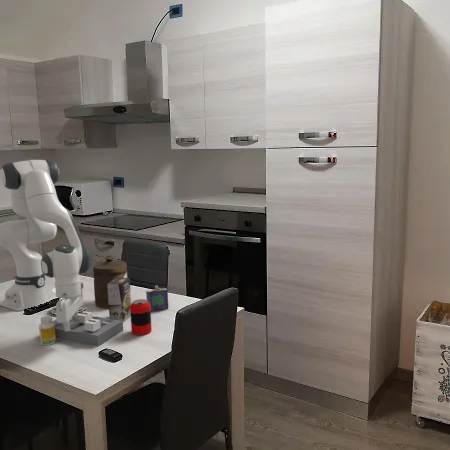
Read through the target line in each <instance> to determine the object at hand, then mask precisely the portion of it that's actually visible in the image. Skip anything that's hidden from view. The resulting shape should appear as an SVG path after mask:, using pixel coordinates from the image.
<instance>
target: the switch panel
mask: <svg viewBox="0 0 450 450" xmlns="http://www.w3.org/2000/svg"><path fill="white" fill-rule="evenodd" d="M92 319H97V320H100V326H101V328H99V329H98V330H96V331H94V332H92V331H86V330H85V326H84V323H78V322H77V321H76V322H72V320H70V321H69V325H70V326H71V327H70V328H71V329H70V331H65V329H64V325H63V323H57V320H56V319H52V322H54V324H55V334H56V340H62V341H69V342H74V343H79V344H84V345H89V346H94V347H100V346H102V345H103V344H105V343H107V342H108V341H110V340H111V339H113V338H115V337H116V336H118V335H119V334H121V333H122V332H124V322H123V321H119V320H113V319H110V318H105V317H99V316H93V315H92Z"/></svg>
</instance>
